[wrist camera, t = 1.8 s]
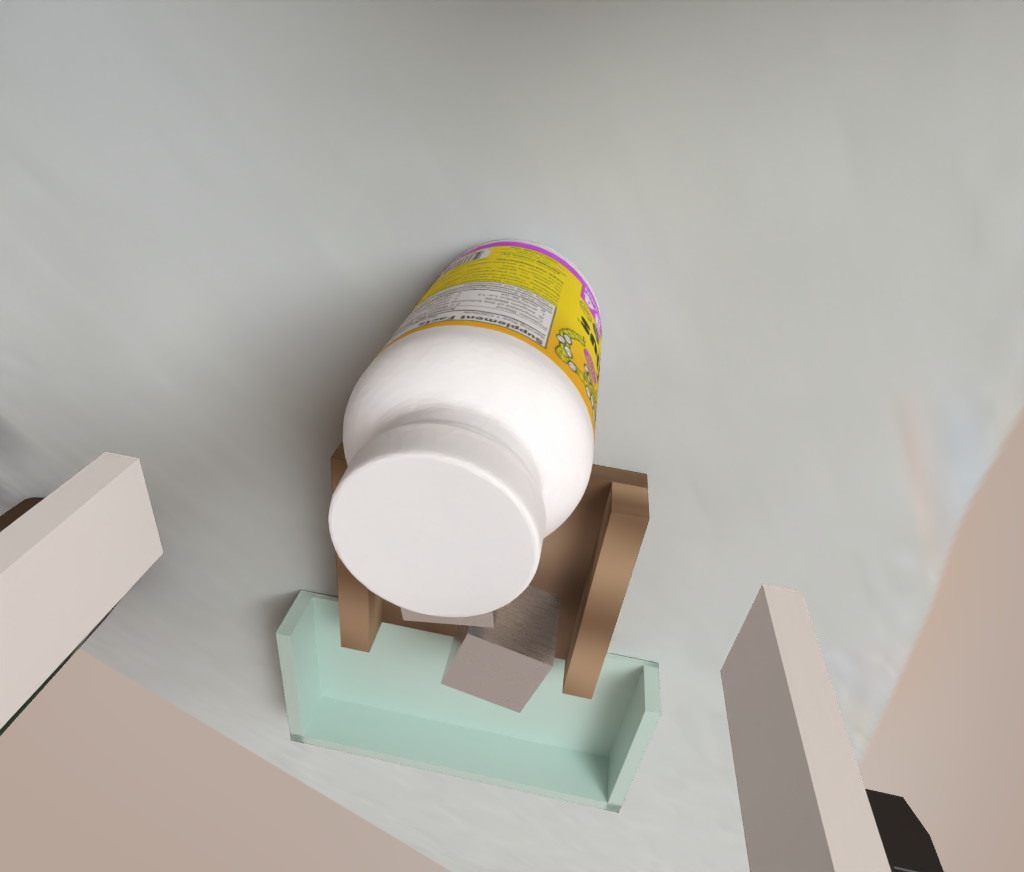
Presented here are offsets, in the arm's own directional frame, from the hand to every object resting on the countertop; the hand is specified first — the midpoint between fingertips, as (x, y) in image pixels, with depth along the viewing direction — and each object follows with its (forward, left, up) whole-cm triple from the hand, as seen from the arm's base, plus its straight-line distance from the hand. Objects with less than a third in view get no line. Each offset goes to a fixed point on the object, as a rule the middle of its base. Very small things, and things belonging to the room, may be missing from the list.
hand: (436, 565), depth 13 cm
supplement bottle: (0, 0, -13) cm, 13 cm away
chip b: (+15, +1, -12) cm, 19 cm away
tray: (+23, 0, -13) cm, 26 cm away
